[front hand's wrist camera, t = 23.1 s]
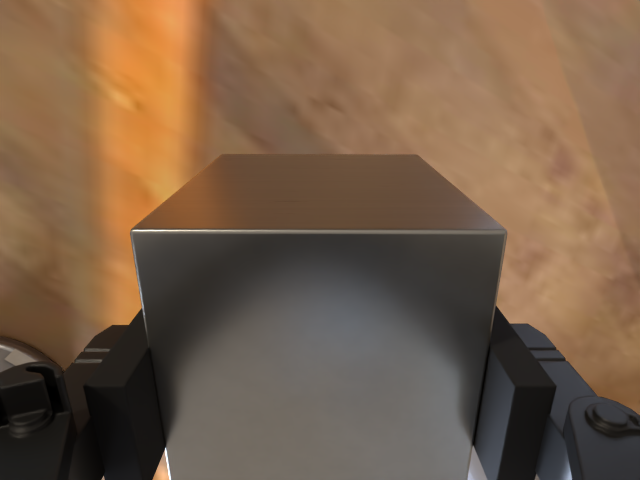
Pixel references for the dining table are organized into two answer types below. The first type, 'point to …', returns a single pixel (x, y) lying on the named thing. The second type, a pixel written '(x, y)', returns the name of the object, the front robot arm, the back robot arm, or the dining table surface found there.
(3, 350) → the back robot arm
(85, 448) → the front robot arm
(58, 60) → the dining table surface
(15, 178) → the dining table surface
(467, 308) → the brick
